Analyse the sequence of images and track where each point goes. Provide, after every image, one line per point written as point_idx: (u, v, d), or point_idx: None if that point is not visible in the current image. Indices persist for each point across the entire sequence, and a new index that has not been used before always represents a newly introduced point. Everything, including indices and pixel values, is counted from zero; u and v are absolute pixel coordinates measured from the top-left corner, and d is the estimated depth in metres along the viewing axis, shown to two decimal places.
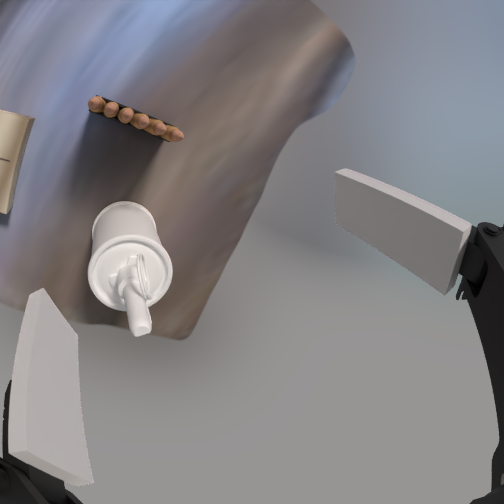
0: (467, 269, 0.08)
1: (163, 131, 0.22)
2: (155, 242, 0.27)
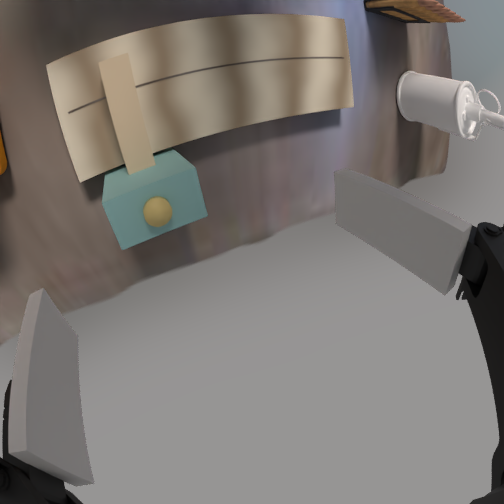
0: (467, 269, 0.08)
1: (459, 17, 0.19)
2: None
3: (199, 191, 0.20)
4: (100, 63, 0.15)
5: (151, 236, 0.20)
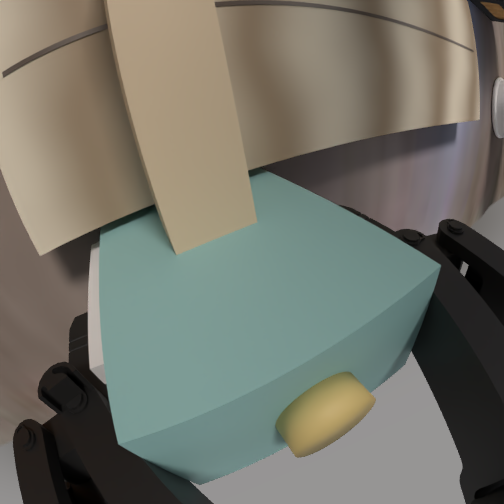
0: None
1: None
2: None
3: (419, 323, 0.06)
4: None
5: (281, 448, 0.06)
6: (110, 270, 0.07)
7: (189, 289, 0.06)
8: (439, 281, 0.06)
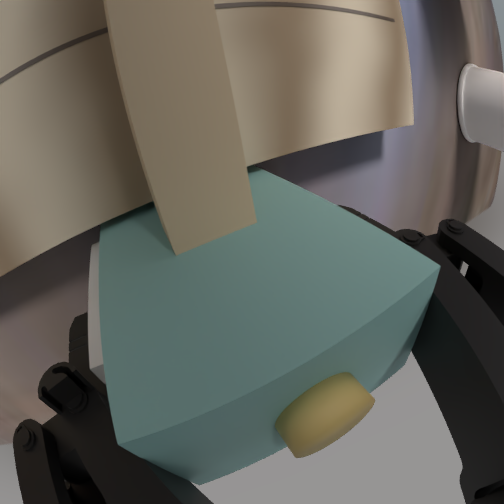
0: None
1: None
2: None
3: (419, 324, 0.06)
4: None
5: (280, 448, 0.06)
6: (110, 270, 0.07)
7: (189, 290, 0.06)
8: (439, 281, 0.06)
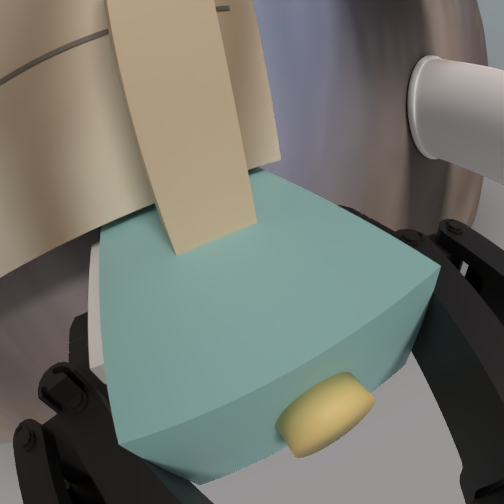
0: None
1: None
2: None
3: (419, 324, 0.06)
4: None
5: (281, 448, 0.06)
6: (110, 270, 0.07)
7: (189, 290, 0.06)
8: (439, 281, 0.06)
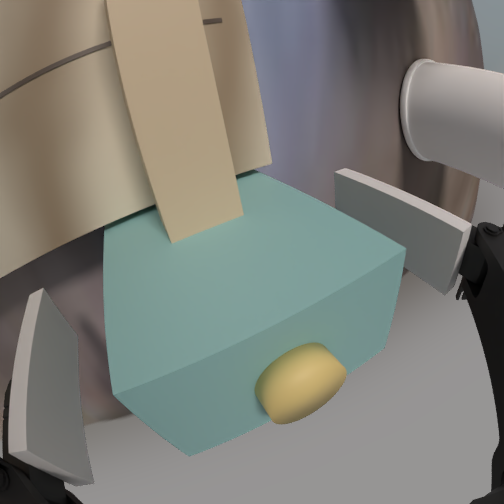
0: (467, 269, 0.08)
1: None
2: None
3: (392, 305, 0.07)
4: None
5: (264, 421, 0.07)
6: (113, 258, 0.08)
7: (181, 270, 0.07)
8: None
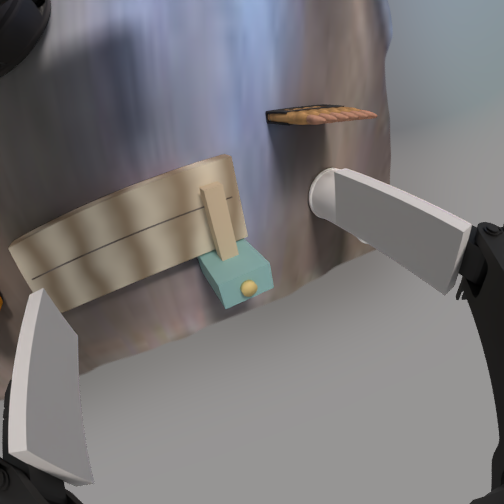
0: (467, 269, 0.08)
1: (367, 117, 0.30)
2: None
3: (270, 275, 0.37)
4: (205, 191, 0.32)
5: (242, 300, 0.36)
6: (207, 264, 0.38)
7: (226, 266, 0.36)
8: None
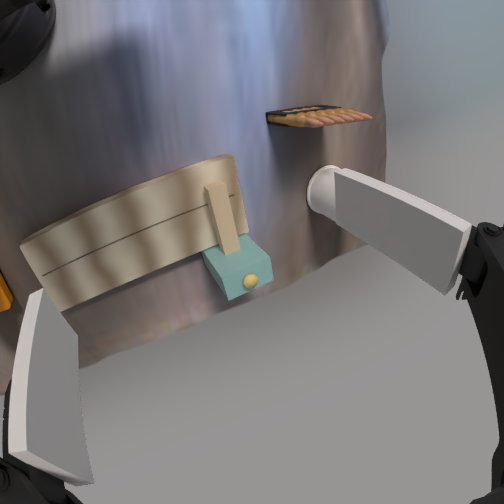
0: (467, 269, 0.08)
1: (363, 120, 0.32)
2: None
3: (270, 268, 0.39)
4: (209, 190, 0.35)
5: (244, 292, 0.39)
6: (211, 258, 0.40)
7: (229, 260, 0.39)
8: None
